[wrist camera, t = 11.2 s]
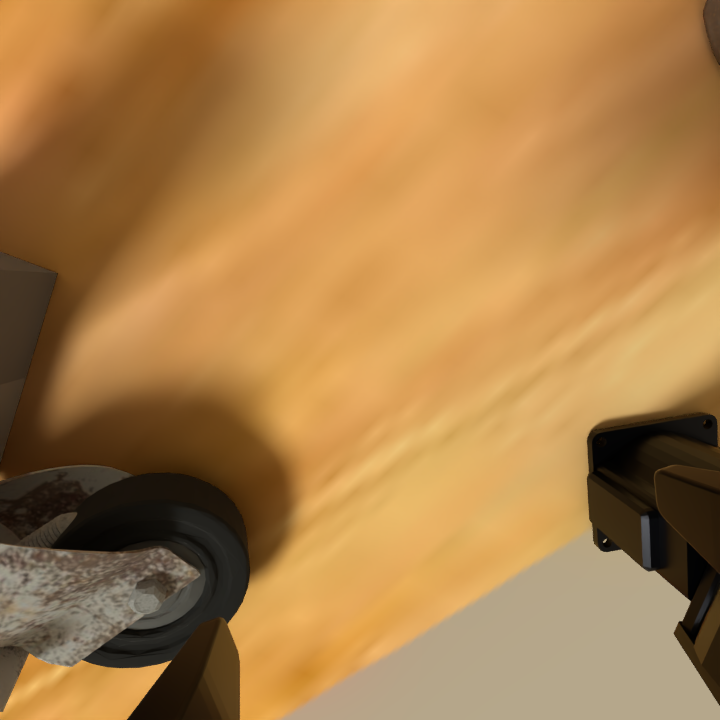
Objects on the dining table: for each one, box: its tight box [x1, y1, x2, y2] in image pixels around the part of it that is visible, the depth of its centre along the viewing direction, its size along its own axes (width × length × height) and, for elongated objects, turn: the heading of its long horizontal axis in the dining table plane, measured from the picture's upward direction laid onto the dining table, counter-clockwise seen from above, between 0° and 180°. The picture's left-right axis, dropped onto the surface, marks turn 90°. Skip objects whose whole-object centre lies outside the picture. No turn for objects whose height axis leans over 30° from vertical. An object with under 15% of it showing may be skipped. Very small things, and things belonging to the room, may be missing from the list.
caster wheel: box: [0, 465, 250, 712], centre depth 19 cm, size 7×11×10 cm
